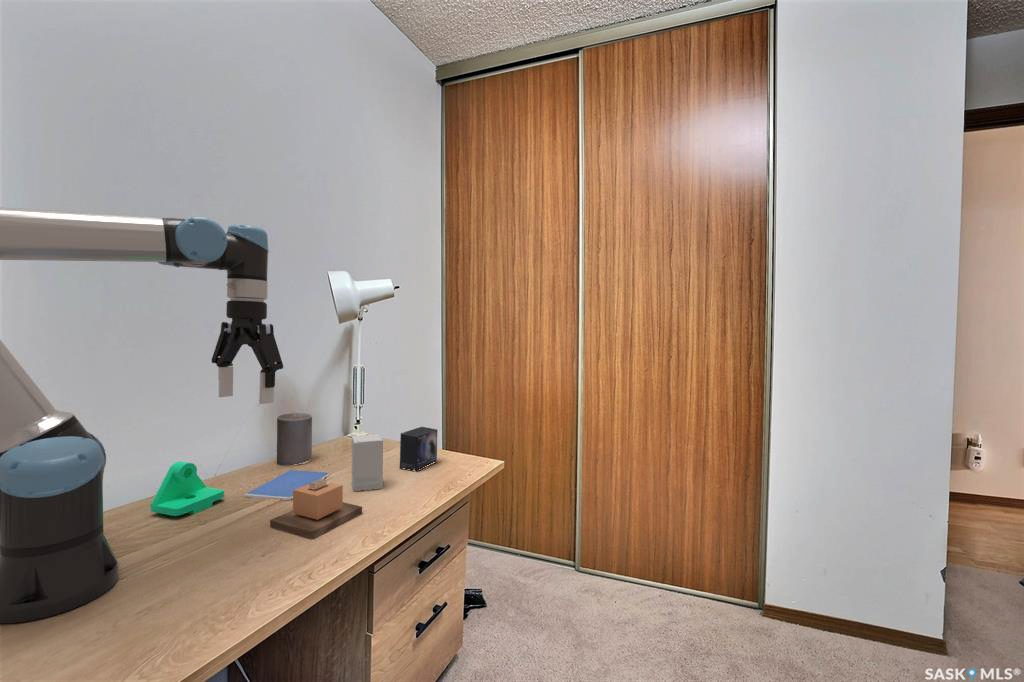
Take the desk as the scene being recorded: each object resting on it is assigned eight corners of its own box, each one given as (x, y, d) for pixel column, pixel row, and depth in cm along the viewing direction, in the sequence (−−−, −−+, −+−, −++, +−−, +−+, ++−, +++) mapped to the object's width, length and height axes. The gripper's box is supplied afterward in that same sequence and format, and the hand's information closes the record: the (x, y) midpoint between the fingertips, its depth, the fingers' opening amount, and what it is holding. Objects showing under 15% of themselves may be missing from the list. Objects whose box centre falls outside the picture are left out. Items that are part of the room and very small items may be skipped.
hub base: (312, 539, 94) (312, 497, 94) (269, 527, 99) (269, 486, 98) (362, 513, 107) (362, 475, 106) (322, 503, 112) (322, 467, 111)
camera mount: (177, 521, 101) (176, 473, 101) (151, 516, 103) (150, 469, 103) (226, 501, 113) (226, 458, 112) (201, 496, 115) (201, 454, 114)
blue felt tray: (290, 473, 134) (290, 468, 134) (332, 476, 132) (332, 471, 132) (242, 499, 115) (242, 494, 114) (291, 503, 113) (291, 497, 113)
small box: (416, 472, 135) (417, 436, 135) (398, 469, 138) (398, 433, 137) (438, 462, 145) (438, 428, 144) (420, 459, 147) (421, 426, 147)
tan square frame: (317, 519, 98) (317, 494, 98) (293, 513, 101) (293, 489, 101) (342, 507, 104) (342, 484, 104) (318, 501, 107) (318, 479, 107)
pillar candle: (270, 461, 142) (270, 412, 141) (301, 454, 150) (301, 407, 149) (287, 468, 136) (287, 417, 135) (318, 460, 144) (319, 411, 143)
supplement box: (383, 488, 122) (383, 440, 121) (352, 492, 119) (353, 442, 118) (380, 479, 129) (380, 433, 128) (351, 482, 126) (351, 435, 125)
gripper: (193, 298, 103) (192, 395, 104) (270, 300, 92) (268, 408, 93) (227, 300, 110) (226, 392, 111) (302, 302, 99) (300, 403, 100)
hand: (245, 399), depth 102 cm, fingers open, 13 cm apart
